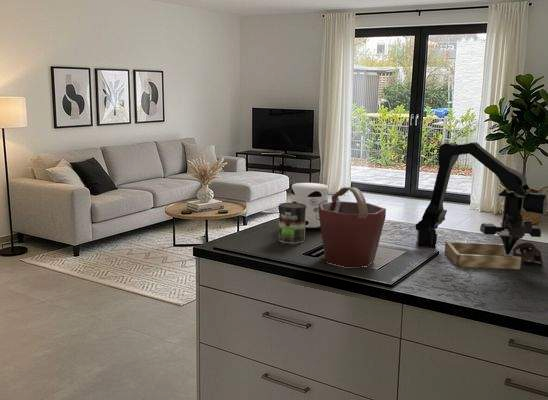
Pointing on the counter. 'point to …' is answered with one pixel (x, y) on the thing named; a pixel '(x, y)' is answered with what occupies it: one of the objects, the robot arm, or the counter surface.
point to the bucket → (350, 229)
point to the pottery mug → (528, 252)
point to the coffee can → (292, 222)
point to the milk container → (310, 201)
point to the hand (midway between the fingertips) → (507, 254)
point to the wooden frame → (464, 258)
